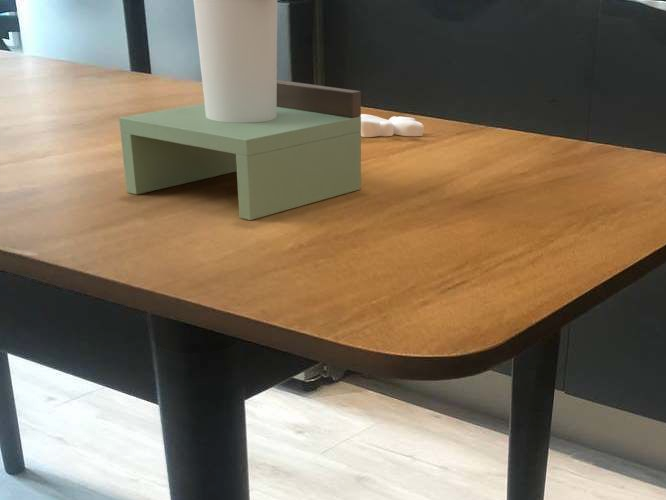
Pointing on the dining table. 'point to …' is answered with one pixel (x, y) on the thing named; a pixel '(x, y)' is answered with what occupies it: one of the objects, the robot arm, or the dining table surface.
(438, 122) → the dining table surface
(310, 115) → the desk
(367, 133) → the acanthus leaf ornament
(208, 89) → the white cup
